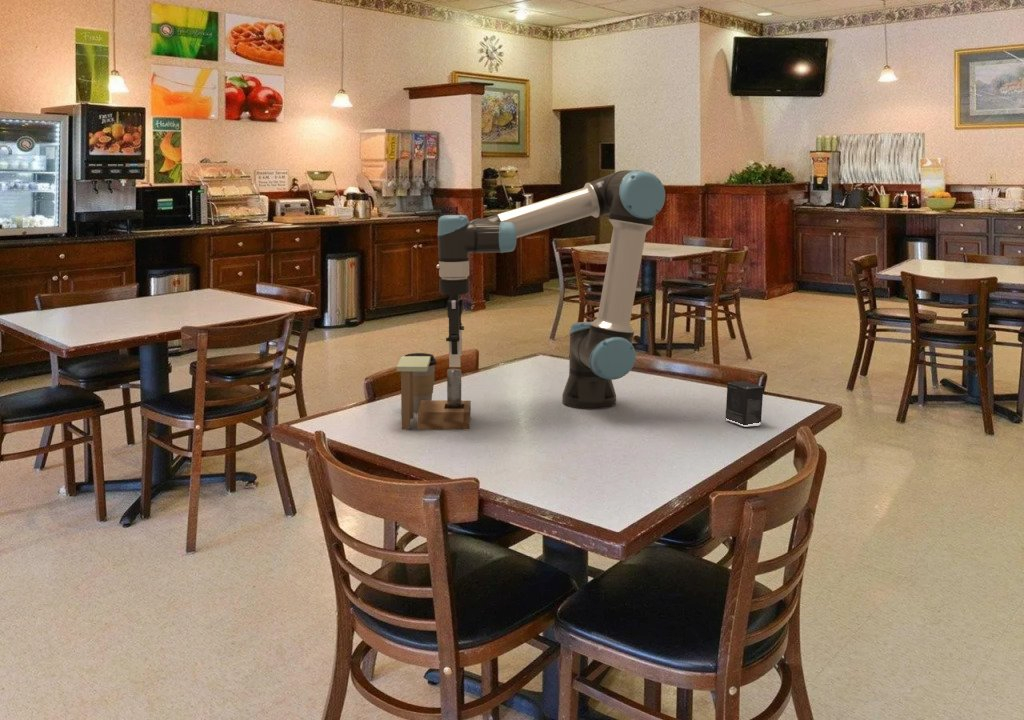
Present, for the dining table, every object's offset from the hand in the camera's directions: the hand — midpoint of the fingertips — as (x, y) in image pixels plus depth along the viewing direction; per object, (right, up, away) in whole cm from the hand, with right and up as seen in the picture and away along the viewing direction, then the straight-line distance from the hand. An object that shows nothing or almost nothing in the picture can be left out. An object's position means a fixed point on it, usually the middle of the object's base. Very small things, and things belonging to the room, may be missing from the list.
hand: (456, 361), depth 238 cm
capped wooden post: (-11, -16, +3) cm, 19 cm away
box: (+74, -16, +6) cm, 76 cm away
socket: (-4, -16, +3) cm, 17 cm away
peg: (-1, -16, +3) cm, 16 cm away
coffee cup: (-11, -13, +16) cm, 23 cm away
